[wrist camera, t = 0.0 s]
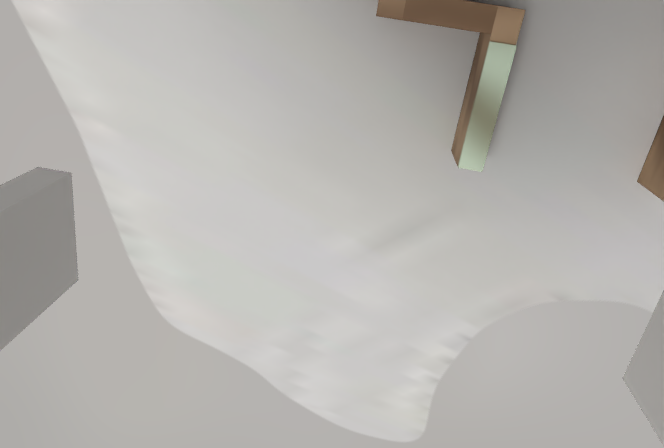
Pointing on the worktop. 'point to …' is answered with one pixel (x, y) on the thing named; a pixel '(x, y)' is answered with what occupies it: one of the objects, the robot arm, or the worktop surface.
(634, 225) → the worktop surface
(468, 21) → the wooden zigzag frame
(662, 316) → the robot arm
